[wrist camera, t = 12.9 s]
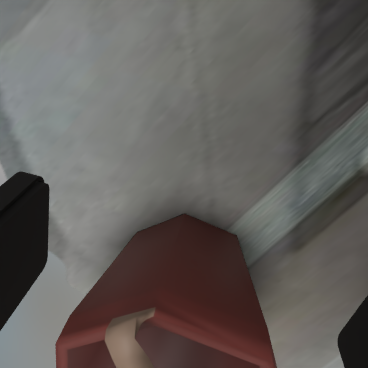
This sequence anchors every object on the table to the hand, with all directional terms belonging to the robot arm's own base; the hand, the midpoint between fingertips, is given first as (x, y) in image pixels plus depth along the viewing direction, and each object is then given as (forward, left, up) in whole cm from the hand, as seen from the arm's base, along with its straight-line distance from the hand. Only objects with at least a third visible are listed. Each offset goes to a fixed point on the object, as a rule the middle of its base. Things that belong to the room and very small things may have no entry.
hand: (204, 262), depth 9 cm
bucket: (-3, +26, -28) cm, 39 cm away
